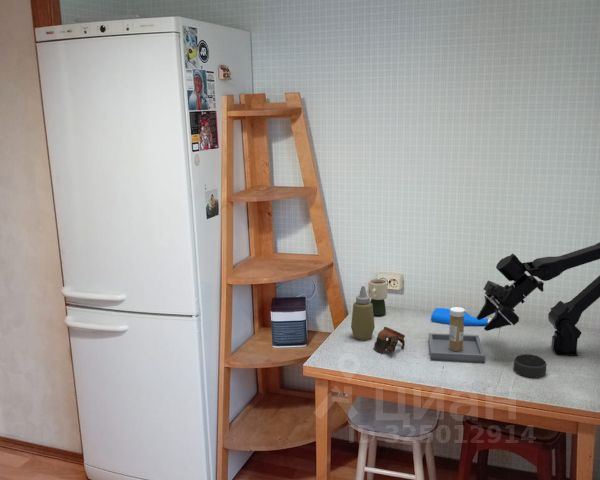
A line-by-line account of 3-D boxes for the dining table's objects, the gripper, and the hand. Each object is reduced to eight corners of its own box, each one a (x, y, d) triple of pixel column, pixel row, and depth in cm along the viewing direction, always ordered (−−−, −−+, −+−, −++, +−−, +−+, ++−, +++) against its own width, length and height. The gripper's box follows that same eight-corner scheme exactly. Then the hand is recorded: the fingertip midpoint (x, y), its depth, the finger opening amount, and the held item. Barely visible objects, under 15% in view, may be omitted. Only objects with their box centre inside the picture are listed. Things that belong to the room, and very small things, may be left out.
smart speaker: (508, 373, 172) (509, 360, 171) (520, 363, 178) (521, 350, 177) (539, 382, 166) (540, 369, 165) (550, 371, 173) (551, 358, 172)
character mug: (373, 308, 227) (373, 276, 224) (391, 310, 224) (391, 278, 221) (363, 317, 218) (363, 284, 215) (381, 320, 215) (382, 286, 212)
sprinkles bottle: (465, 351, 185) (467, 310, 182) (451, 352, 185) (453, 311, 182) (459, 345, 190) (461, 306, 186) (446, 346, 189) (447, 306, 186)
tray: (477, 342, 194) (478, 335, 193) (484, 363, 178) (485, 355, 178) (428, 340, 196) (428, 333, 196) (430, 360, 181) (431, 352, 180)
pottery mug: (368, 346, 193) (378, 323, 194) (394, 357, 194) (403, 334, 195) (378, 352, 182) (388, 327, 182) (405, 363, 183) (415, 339, 183)
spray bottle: (430, 316, 211) (502, 324, 203) (435, 306, 221) (503, 314, 213) (430, 323, 212) (501, 332, 203) (434, 313, 222) (502, 321, 213)
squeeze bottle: (347, 339, 198) (347, 289, 194) (354, 331, 205) (354, 282, 201) (371, 343, 195) (371, 291, 191) (377, 334, 202) (377, 284, 198)
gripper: (492, 265, 190) (457, 297, 193) (510, 282, 172) (470, 318, 175) (516, 288, 191) (480, 320, 194) (535, 307, 173) (496, 342, 176)
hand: (481, 324), depth 185 cm, fingers open, 9 cm apart
